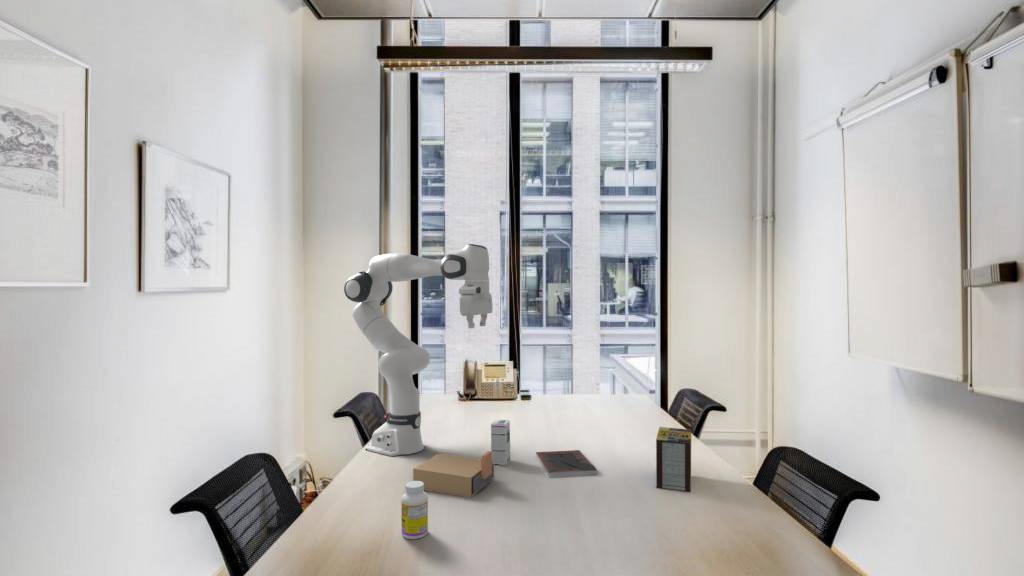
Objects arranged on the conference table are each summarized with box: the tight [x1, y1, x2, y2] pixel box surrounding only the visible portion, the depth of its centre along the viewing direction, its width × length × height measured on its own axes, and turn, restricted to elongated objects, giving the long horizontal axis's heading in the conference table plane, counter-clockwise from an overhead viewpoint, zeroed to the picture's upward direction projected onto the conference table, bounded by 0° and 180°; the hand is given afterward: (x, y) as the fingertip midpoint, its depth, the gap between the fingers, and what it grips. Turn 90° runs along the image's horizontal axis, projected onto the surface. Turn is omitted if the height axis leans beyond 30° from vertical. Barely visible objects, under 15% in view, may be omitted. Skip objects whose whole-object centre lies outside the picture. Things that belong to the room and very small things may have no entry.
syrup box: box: [490, 419, 511, 466], centre depth 190 cm, size 6×6×14 cm
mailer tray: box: [472, 450, 495, 494], centre depth 169 cm, size 22×14×10 cm, turn 68°
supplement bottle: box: [400, 480, 429, 540], centre depth 135 cm, size 7×7×13 cm
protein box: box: [655, 426, 692, 493], centre depth 171 cm, size 10×15×16 cm
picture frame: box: [535, 449, 598, 478], centre depth 187 cm, size 16×2×22 cm
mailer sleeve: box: [412, 453, 494, 498], centre depth 170 cm, size 20×16×6 cm
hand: (477, 327), depth 193 cm, fingers open, 8 cm apart
